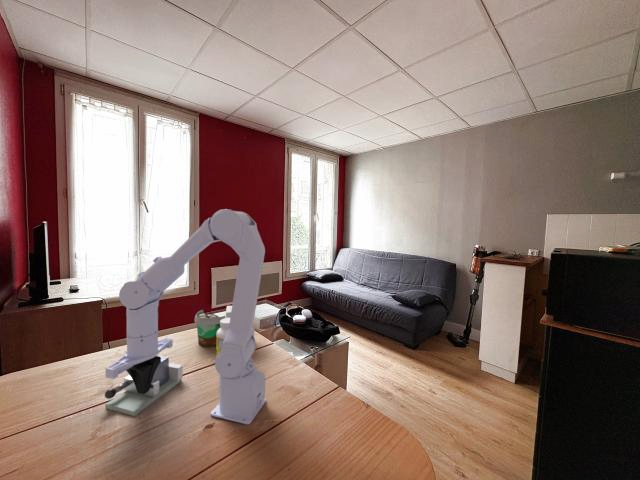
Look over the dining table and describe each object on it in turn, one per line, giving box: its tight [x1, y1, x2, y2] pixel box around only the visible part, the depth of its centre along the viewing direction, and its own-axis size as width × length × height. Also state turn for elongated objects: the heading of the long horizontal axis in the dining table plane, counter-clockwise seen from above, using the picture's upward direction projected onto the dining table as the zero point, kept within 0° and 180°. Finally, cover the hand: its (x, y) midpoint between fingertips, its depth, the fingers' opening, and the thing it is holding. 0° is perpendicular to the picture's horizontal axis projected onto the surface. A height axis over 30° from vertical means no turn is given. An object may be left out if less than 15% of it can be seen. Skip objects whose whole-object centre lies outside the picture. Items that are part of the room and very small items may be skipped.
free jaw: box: [104, 375, 159, 400], centre depth 58 cm, size 9×6×3 cm
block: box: [152, 354, 170, 387], centre depth 63 cm, size 5×4×6 cm
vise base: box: [105, 362, 184, 417], centre depth 62 cm, size 9×13×4 cm, turn 165°
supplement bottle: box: [215, 317, 230, 358], centre depth 76 cm, size 7×7×13 cm
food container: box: [194, 309, 226, 348], centre depth 88 cm, size 12×6×10 cm, turn 62°
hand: (143, 391), depth 58 cm, fingers closed
